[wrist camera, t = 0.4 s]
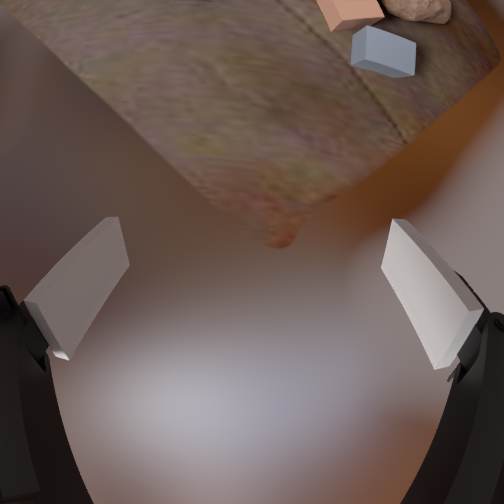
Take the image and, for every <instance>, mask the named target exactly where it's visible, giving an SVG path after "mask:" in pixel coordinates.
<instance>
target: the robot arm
mask: <svg viewBox="0 0 504 504" xmlns="http://www.w3.org/2000/svg"><path fill="white" fill-rule="evenodd" d="M128 267H129V261H128V257H127V253H126V249H125V245H124V240H123V236H122V232H121V227H120V223H119V218H118V217H107V218H105V219H104V220H102V221H101V222H100V223H99V224H98V225H97V226H96V227H95V228H93V229H92V230H91V231H90V232H89V233H88V234H87V235H86V236H85V237H84V238H83V239H81V240H80V242H78V243H77V244H76V245H75V246H74V247H73V248H72V249H71V250H70V251H69V252H68V253H67V254H66V255H65V256H64V257H63V258H62V259H61V260H60V261H59V262H58V263H57V264H56V265H55V266H54V267H53V268H52V269H51V270H50V271H49V272H48V273H47V274H46V275H45V276H44V277H43V278H42V280H41V281H40V282H39V283H38V284H37V285H36V286H35V287H34V288H33V289H32V291H31V292H30V293H29V294H28V295H27V296H26V298H25V299H24V300H23V301H22V302H21V303H20V305H19V306H18V304H17V302H16V300H15V298H14V296H13V294H12V292H11V290H10V287H8V286H7V285H3V286H0V504H94V503H93V501H92V499H91V497H90V495H89V493H88V491H87V489H86V486H85V484H84V482H83V480H82V477H81V475H80V472H79V470H78V467H77V465H76V462H75V459H74V457H73V454H72V451H71V448H70V445H69V442H68V439H67V436H66V433H65V429H64V426H63V422H62V418H61V415H60V411H59V407H58V402H57V398H56V394H55V389H54V384H53V378H52V373H51V367H50V360H49V357H48V354H47V353H46V349H47V348H48V346H49V347H50V348H51V350H52V351H53V353H54V354H55V356H56V357H60V358H63V359H67V360H70V358H71V357H72V355H73V353H74V352H75V350H76V348H77V346H78V345H79V343H80V341H81V339H82V338H83V336H84V334H85V333H86V331H87V329H88V328H89V326H90V324H91V323H92V321H93V319H94V318H95V316H96V315H97V313H98V311H99V310H100V308H101V307H102V305H103V304H104V302H105V300H106V299H107V297H108V296H109V294H110V293H111V291H112V290H113V288H114V287H115V285H116V284H117V282H118V281H119V279H120V278H121V277H122V275H123V274H124V272H125V271H126V269H127V268H128ZM381 269H382V270H383V272H384V274H385V276H386V277H387V279H388V281H389V282H390V284H391V286H392V288H393V289H394V291H395V293H396V294H397V296H398V298H399V300H400V302H401V303H402V305H403V307H404V309H405V311H406V313H407V315H408V317H409V318H410V320H411V322H412V324H413V326H414V328H415V330H416V332H417V334H418V336H419V338H420V340H421V342H422V344H423V346H424V348H425V351H426V353H427V355H428V357H429V359H430V361H431V363H432V365H433V368H434V370H435V369H439V368H443V367H448V366H450V364H451V363H452V361H453V360H454V359H455V357H456V356H457V355H458V357H459V359H460V363H459V364H458V366H457V367H456V368H455V370H454V371H453V373H452V374H451V375H450V376H449V378H448V380H447V381H448V382H449V381H450V380H451V379H452V378H453V377H454V379H453V382H452V386H451V390H450V393H449V396H448V399H447V403H446V406H445V409H444V412H443V415H442V417H441V420H440V423H439V426H438V428H437V431H436V433H435V436H434V438H433V441H432V443H431V445H430V448H429V450H428V452H427V454H426V457H425V459H424V461H423V463H422V465H421V467H420V469H419V471H418V473H417V475H416V477H415V479H414V481H413V483H412V485H411V486H410V488H409V490H408V491H407V493H406V495H405V497H404V498H403V500H402V502H401V503H400V504H504V315H503V314H501V313H498V312H492V313H490V311H489V310H488V308H487V307H486V306H485V304H484V303H483V302H482V301H481V299H480V298H479V297H478V295H477V294H476V293H475V292H473V289H472V288H471V287H470V286H468V283H467V282H466V281H465V279H464V278H463V277H462V276H461V275H459V274H458V273H457V272H455V271H454V270H453V269H452V268H451V267H450V266H449V265H448V264H447V262H446V261H445V260H444V259H443V258H442V257H441V256H440V255H439V254H438V252H436V250H435V249H434V248H433V247H432V246H431V245H430V244H429V243H428V242H427V241H426V240H425V239H424V238H423V237H422V235H421V234H420V233H419V232H418V231H417V230H416V229H414V227H412V225H410V223H409V222H407V221H406V220H404V219H403V220H402V219H392V224H391V228H390V233H389V237H388V242H387V246H386V250H385V254H384V259H383V263H382V266H381Z"/></svg>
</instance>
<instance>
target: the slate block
mask: <svg viewBox="0 0 504 504" xmlns="http://www.w3.org/2000/svg"><path fill="white" fill-rule="evenodd" d="M415 59H416V43H415V42H412V41H410V40H407V39H405V38H402V37H400V36H397V35H394V34H392V33H389V32H386V31H383V30H380V29H377V28H374V27H371V26H368V25H367V26H365V27H364V28H362V29H361V30H360V31H358V32H357V33H355V34H354V35H353V40H352V54H351V66H355V67H359V68H363V69H366V70H370V71H373V72H377V73H380V74H383V75H387V76H390V77H393V78H401V77H409V76H414V74H415Z"/></svg>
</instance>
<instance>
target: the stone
mask: <svg viewBox="0 0 504 504" xmlns="http://www.w3.org/2000/svg"><path fill="white" fill-rule="evenodd" d="M381 2H382V3H383V5H384V6H385V8H386V10H387V11H388V12H389V13H390V14H393V15H395V16H397V17H400V18H401V19H403V20H407V21H426V22H432V23H441V24H444V23H446V22H447V21H448V20H449V18H450V15H451V2H450V0H381Z"/></svg>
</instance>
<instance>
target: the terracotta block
mask: <svg viewBox="0 0 504 504" xmlns="http://www.w3.org/2000/svg"><path fill="white" fill-rule="evenodd" d="M316 1H317V3H318V5H319V7H320V9H321V11H322V13H323V15H324V17H325V19H326V21H327V23H328V26H329V28H330V30H331V32H333V31H340V30H347V29H355V28H364V27H365V26H367V25H368V26H371V25H373V24H374V23H376V22H377V21H379V20H381V19H382V18H384V14H383V12H382V10H381V8H380V6H379V4H378V2H377V0H316Z"/></svg>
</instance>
